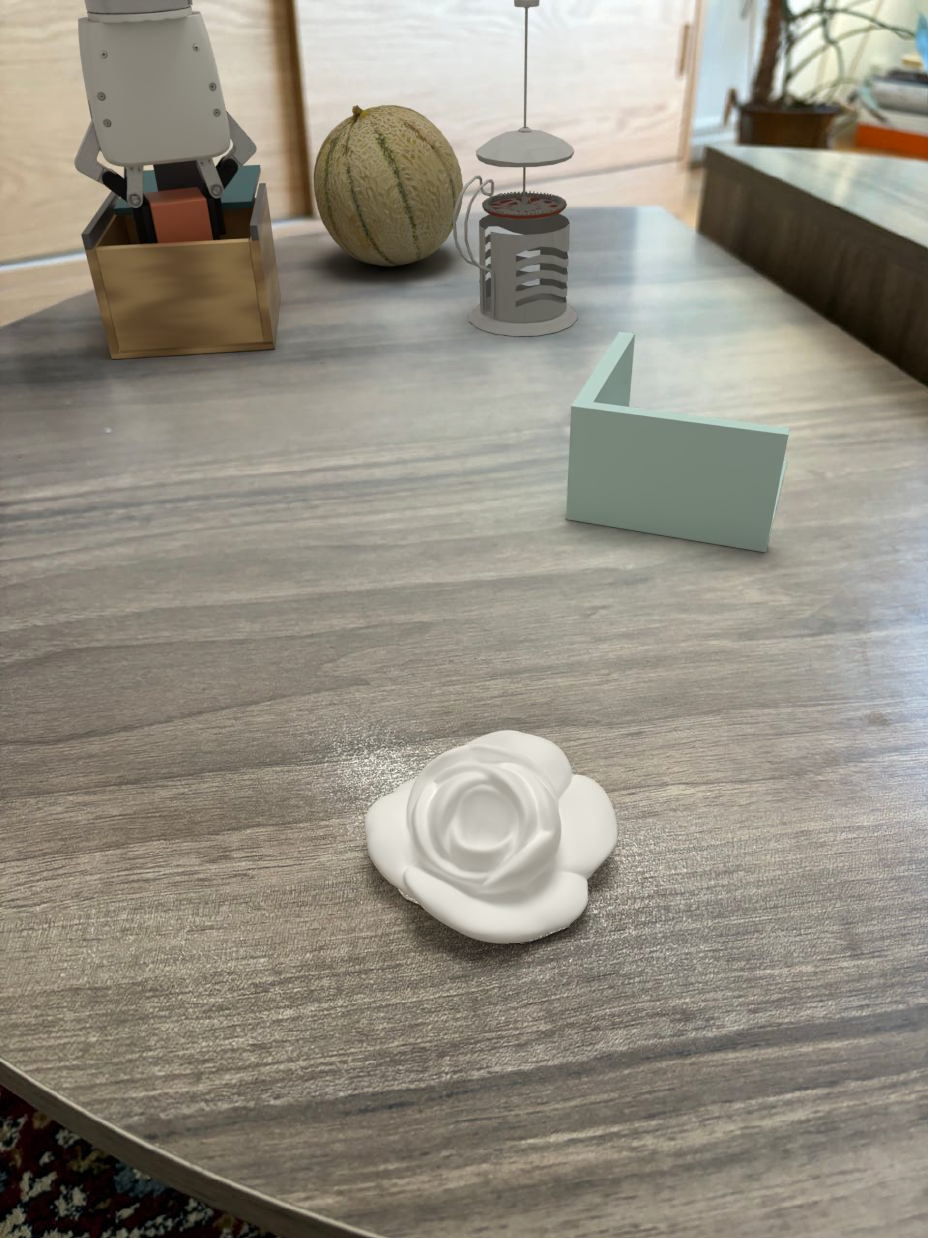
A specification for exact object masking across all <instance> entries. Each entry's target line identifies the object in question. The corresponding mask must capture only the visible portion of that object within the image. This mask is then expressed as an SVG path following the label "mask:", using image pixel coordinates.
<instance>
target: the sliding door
mask: <svg viewBox="0 0 928 1238" xmlns="http://www.w3.org/2000/svg"><path fill="white" fill-rule="evenodd" d="M152 168H153V169H143V193H144V195H145V193H150V192H158V191H167V190H176V189H185V188H194V187H198V189H199V190H200V192H201V191H202V187H201V186H202V185H203V181H202V179H201V176H200V174H199V171H198V169H197V166H196V164H195V161H194V160H193V161H184V162H175V163H166V164H156V165H152ZM261 173H262V168H261V164H251V165H250V164H248V165H246V164H244V165H243V166H241V167H240V168H239V169H238V171H237V173H236V174H235V176H234V177H233V178H232V180H231V181H230V183H229V184H228V186H227V187H226V188H225V190H224V194H223V196H222V197H221V202H222V209H223V210H228V209H247V208H252V207H253V203H254V198H256V195H257V191H258V186H259V181H260V176H261ZM114 212H115V215H132V210H131V206H130V205H129V204H128V203H127V202H126V201H125V200H123V199H122V198H121V197H120V199H119V201H118V202H117V204H116V206H115V207H114Z"/></svg>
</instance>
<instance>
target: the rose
mask: <svg viewBox="0 0 928 1238" xmlns="http://www.w3.org/2000/svg"><path fill="white" fill-rule="evenodd" d="M364 833H365V839H366V847H367V854H368V856H369V858H370V859H371V862H372V863H373V865H374V867H375V868H376V869H377V870H378V871H379V873H380V874H381V876H383V878H384V879H385V880H386V881H387V882H389V883H390V884H391V885H392V886H394V887H395V888H396V889H397V888H398V889H400V890H401V891H402V892H403V893H404V894H406V895H408V896H409V897H411V898H413V899H415V900H416V901H417V902H418V903H419V904H420V905H421V906H420V905H419V906H420V907H421V908H423V910H424V911H426V912H427V913H428V914H429V915H430V916H432V917H433V918H434V919H436V920H437V921H439V922H440V923H443V925H445V926H447V927H449V928H450V929H452V930H454V931H456V932H458V933H460V934H462V935H464V936H466V937H467V938H470V939H473V940H475V941H480V942H484V943H490V944H501V945H503V944H506V945H507V944H508V945H509V943H518V942H524V941H528V940H530V939H534V938H536V937H538V936H540V935H544V934H545V933H547V932H551V931H555V930H557V929H560V928H564V927H566V926H569V925H570V924H571V923H572V922H573V923H574V921H576V920H577V919H578V918H579V917H580V916H582V914H583V912H584V911H585V909H586V908H587V905H588V903H589V888H588V879H590V878H591V877H592V875H593V874H594V873H595V872H596V871H597V870H598V869H599V868H600V867H601V865H602V864H603V863H604V862H605V861H606V860H607V859H608V858H609V856H610V855H611V854H612V853H613V852H614V849H615V847H616V845H617V842H618V821H617V815H616V812H615V809H614V807H613V805H612V802H611V799H610V797H609V796H608V793H607V792H606V791H605V789H604V788H603V787H602V786H601V785H600V784H599V783H598V782H597V781H596V780H594V779H593V778H591V777H589V776H585V775H583V774H576V773H575V774H574V773H573V768H572V766H571V764H570V761H569V759H568V757H567V755H566V754H565V753H564V751H563V750H562V749H561V748H560V747H559V746H558V745H557V744H555V743H554V742H553V741H551V740H549V739H546V738H544V737H541V736H538V735H535V734H529V733H526V732H525V733H524V732H521V731H518V730H515V729H514V730H512V729H508V730H507V729H504V730H498V731H493V732H490V733H486V734H483V735H481V736H478V737H477V738H474V739H473V740H470V741H469V742H466V743H465V744H464V745H460V746H456V747H453V748H451V749H449V750H445V751H444V752H442V753H440V754H439V755H437V756H436V757H434V758H433V759H431V760H430V761H429V762H428V763H427V764H426V765H425V766H424V767H423V768H422V770H421V771H420V772H419V774H418V775H417V776H416V777H414V778H412V779H410V780H407V781H405V782H403V783H401V784H400V785H398V786H397V787H395V789H394V790H393V792H391V793H388V794H385V795H384V796H382V797H380V798H379V799H377V800H376V801H375V802H374V803H372V805H371V806H369V808H368V810H367V812H366V814H365V819H364ZM398 889H397V890H398ZM573 923H572V924H573Z"/></svg>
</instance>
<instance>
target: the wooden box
mask: <svg viewBox="0 0 928 1238" xmlns="http://www.w3.org/2000/svg"><path fill="white" fill-rule="evenodd" d="M120 198H121V197H119V196H118V195H116V194H115V193H114V192H112V191H111V190H110V192H109V194H108V195H107V197H106V198H105V199H104V201H103V202H102V204H101V205H100V207H99V208H98V210H97V211H95V214H94V215H93V216H92V218H91V220H90V221H89V222H88V224H87V225H86V227H85V228H84V230H83V231H82V233H81V234H80V236H81V241H82V245H83V248H84V253H85V256H86V257H85V258H86V261H87V265H88V268H89V273H90V277H91V280H92V285H93V288H94V292H95V293H94V294H95V298H96V301H97V306H98V309H99V313H100V318H101V321H102V327H103V330H104V334H105V338H106V342H107V346H108V350H109V354H110V358H111V359H112V360H121V359H136V358H137V359H138V358H152V357H153V358H154V357H168V356H169V357H170V356H171V357H172V356H182V355H183V356H184V355H185V356H186V355H187V356H188V355H200V354H216V353H218V354H219V353H231V352H250V351H265V350H266V351H267V350H275V347H276V339H277V331H278V323H279V313H280V306H281V305H280V304H281V294H282V293H281V286H280V280H279V272H278V265H277V263H278V262H277V257H276V250H275V242H274V235H273V234H274V233H273V228H272V227H273V225H272V219H271V218H272V217H271V213H270V212H271V211H270V204H269V198H268V189H267V183H266V182H260V183H259V182H258V186H257V190H256V195H255V198H254V203H253V207H252V208H247V209H228V210H223V215H224V221H225V227H226V235H220V240H212V241H193V242H175V243H156V244H139V242H138V238H137V233H136V228H135V224H134V219H133V214H132V215H115V212H114V207H115V206H116V204H117V202H118V201H119V199H120Z"/></svg>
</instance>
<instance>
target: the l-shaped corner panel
mask: <svg viewBox="0 0 928 1238" xmlns="http://www.w3.org/2000/svg"><path fill="white" fill-rule="evenodd" d="M635 339H636V332H635V333H634V332H627V331H626V332H625V331H619V332H618V333H617V335H616V336H615V337H614V339H613V341H612V342H611V344H610V345H609V347H608V348H607V350H606V352H605V353H604V354H603V356H602V358H601V359H600V361H599V362H598V364H597V365H596V367H595V369H594V370H593V372H592V373H591V375H590V376H589V377H588V380H587V381H586V383H585V384H584V385H583V386H582V388H581V390H580V392H579V393H578V394H577V396H576V398H575V399H574V401H573V402H572V404H571V405H570V422H569V423H570V424H569V443H568V445H569V446H568V447H569V448H568V468H567V469H568V471H567V488H566V489H567V490H566V491H567V493H566V510H565V511H566V512H565V519H566V520H569V521H575V522H582V523H588V524H592V525H598V526H599V525H600V526H606V527H611V528H615V529H616V528H617V529H623V530H629V531H634V532H640V533H641V532H642V533H647V534H652V535H658V536H665V537H671V538H676V539H683V540H689V541H695V542H701V543H706V544H712V545H719V546H724V547H725V546H726V547H731V548H737V549H743V550H748V551H754V552H759V553H767V551H768V550H767V549H768V545H769V540H770V536H771V532H772V528H773V523H774V519H775V514H776V510H777V506H778V501H779V497H780V493H781V488H782V484H783V480H784V476H785V471H786V467H787V464H788V463H787V462H788V459H787V458H785V456H786V450H787V445H788V440H789V435H790V429H791V427H786V426H779V425H771V424H763V423H756V422H748V421H741V420H733V419H725V418H718V417H710V416H702V415H695V414H688V413H687V414H686V413H679V412H671V411H663V410H657V409H648V408H640V407H634V406H630V401H631V387H632V376H633V365H634V354H635V353H634V352H635Z"/></svg>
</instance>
